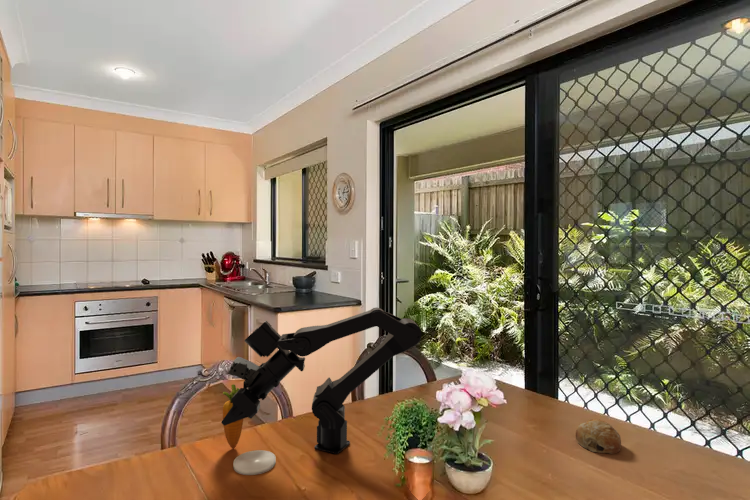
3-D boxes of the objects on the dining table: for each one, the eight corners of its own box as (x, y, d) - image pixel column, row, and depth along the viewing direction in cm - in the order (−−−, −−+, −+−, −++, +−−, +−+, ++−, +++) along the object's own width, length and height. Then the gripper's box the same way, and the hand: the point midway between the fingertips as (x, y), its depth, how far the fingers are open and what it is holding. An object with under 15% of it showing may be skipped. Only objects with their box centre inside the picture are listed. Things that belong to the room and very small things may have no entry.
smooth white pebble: (283, 459, 100) (283, 455, 100) (257, 478, 92) (257, 474, 92) (252, 451, 104) (252, 447, 104) (224, 468, 95) (224, 464, 95)
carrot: (237, 454, 102) (237, 390, 102) (218, 452, 103) (218, 388, 103) (248, 445, 107) (248, 383, 107) (229, 443, 108) (229, 382, 108)
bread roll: (575, 461, 108) (576, 437, 104) (574, 428, 116) (575, 405, 113) (621, 469, 104) (624, 445, 101) (616, 435, 113) (619, 411, 109)
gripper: (258, 338, 114) (214, 381, 113) (241, 356, 95) (188, 408, 95) (288, 368, 115) (245, 410, 114) (278, 392, 96) (226, 443, 96)
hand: (227, 417), depth 105 cm, fingers open, 8 cm apart
